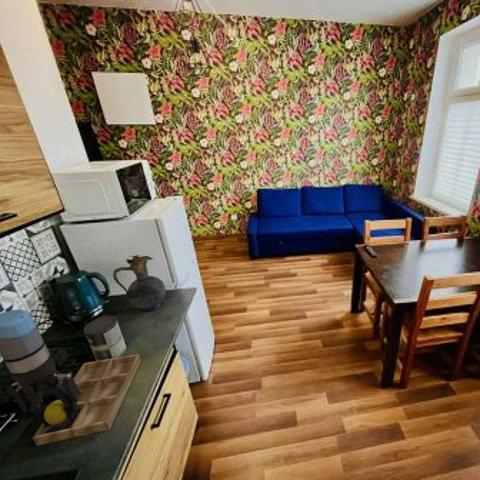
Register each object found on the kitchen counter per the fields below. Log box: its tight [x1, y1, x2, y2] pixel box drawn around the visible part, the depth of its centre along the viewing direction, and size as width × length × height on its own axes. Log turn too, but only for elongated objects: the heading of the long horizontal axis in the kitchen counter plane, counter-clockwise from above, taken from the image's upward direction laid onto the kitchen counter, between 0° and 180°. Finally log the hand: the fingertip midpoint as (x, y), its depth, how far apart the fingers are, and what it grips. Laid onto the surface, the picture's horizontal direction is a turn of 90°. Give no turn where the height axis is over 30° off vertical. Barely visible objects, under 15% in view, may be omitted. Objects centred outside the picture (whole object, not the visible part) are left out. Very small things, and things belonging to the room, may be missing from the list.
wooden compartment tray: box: [31, 353, 141, 447], centre depth 89 cm, size 18×27×3 cm
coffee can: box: [83, 315, 127, 361], centre depth 105 cm, size 10×10×14 cm
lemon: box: [44, 399, 68, 425], centre depth 79 cm, size 6×6×8 cm
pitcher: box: [112, 254, 167, 313], centre depth 128 cm, size 11×19×30 cm, turn 111°
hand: (62, 420), depth 80 cm, fingers closed on lemon, 5 cm apart
